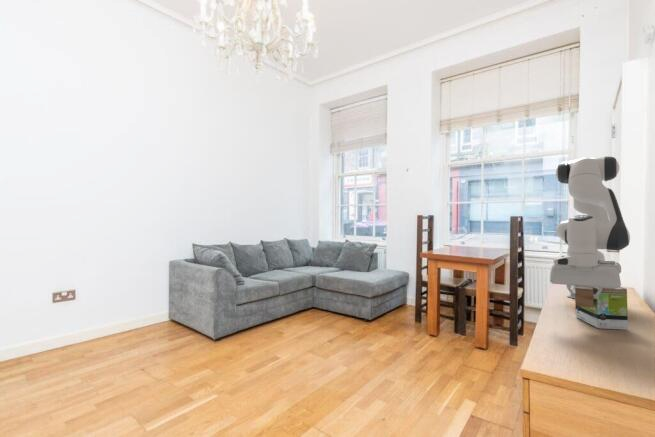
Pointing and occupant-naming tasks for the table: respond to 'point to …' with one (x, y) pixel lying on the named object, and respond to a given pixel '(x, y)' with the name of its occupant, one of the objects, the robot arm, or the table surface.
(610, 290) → the tea box
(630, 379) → the table surface
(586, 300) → the walnut block
